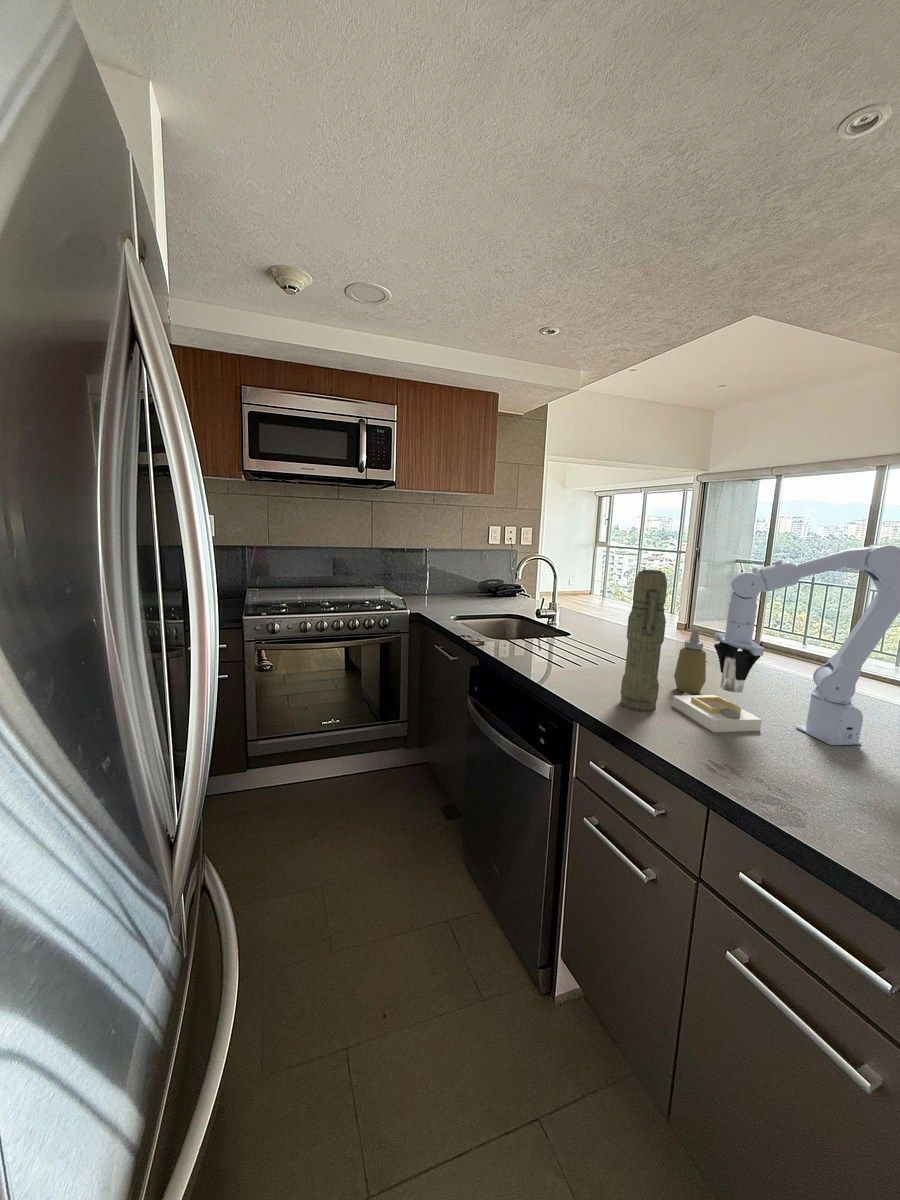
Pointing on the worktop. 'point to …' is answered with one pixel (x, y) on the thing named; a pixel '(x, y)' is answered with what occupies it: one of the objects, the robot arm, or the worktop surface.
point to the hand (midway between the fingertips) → (732, 676)
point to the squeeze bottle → (691, 666)
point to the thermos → (644, 642)
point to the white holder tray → (716, 713)
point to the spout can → (731, 676)
